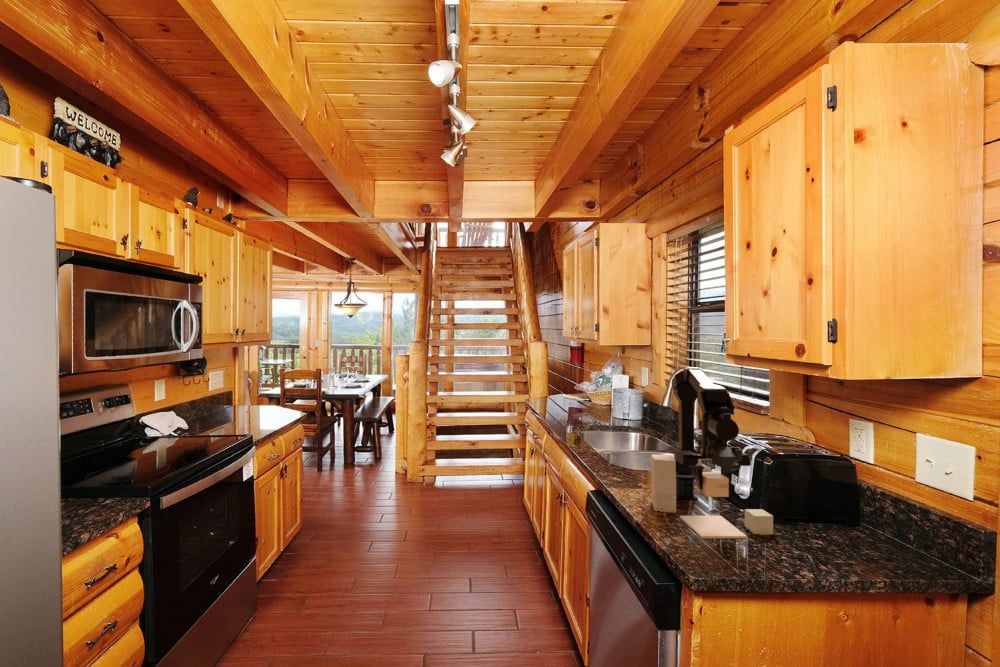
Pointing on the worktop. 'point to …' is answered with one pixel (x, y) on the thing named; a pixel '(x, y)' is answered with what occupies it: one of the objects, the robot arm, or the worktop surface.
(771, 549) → the worktop surface
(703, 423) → the robot arm
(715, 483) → the maple block
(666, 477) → the skincare box
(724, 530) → the baseplate
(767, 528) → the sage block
